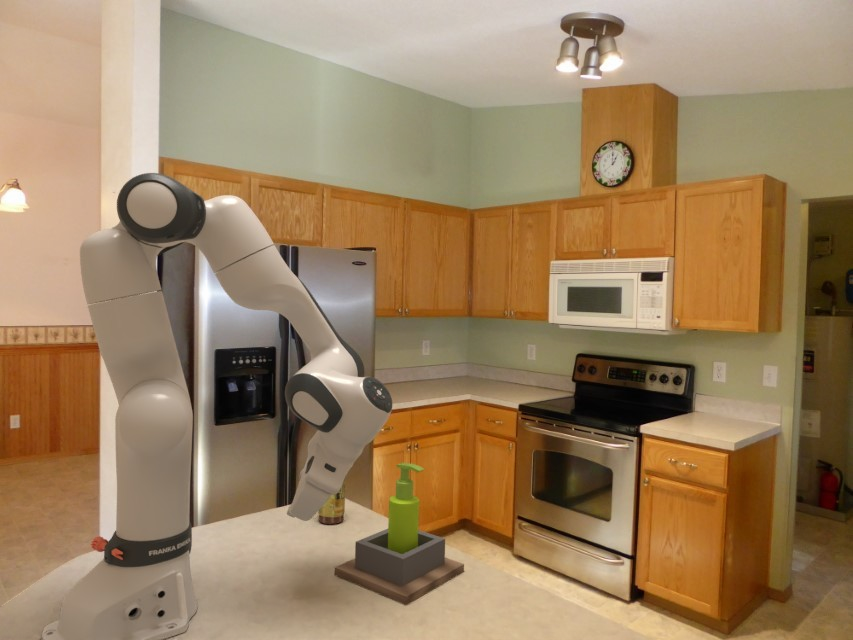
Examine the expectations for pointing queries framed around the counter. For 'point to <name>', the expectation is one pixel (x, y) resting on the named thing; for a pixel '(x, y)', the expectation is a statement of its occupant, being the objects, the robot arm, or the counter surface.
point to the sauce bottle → (333, 508)
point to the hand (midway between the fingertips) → (297, 495)
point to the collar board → (399, 567)
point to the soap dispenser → (404, 513)
